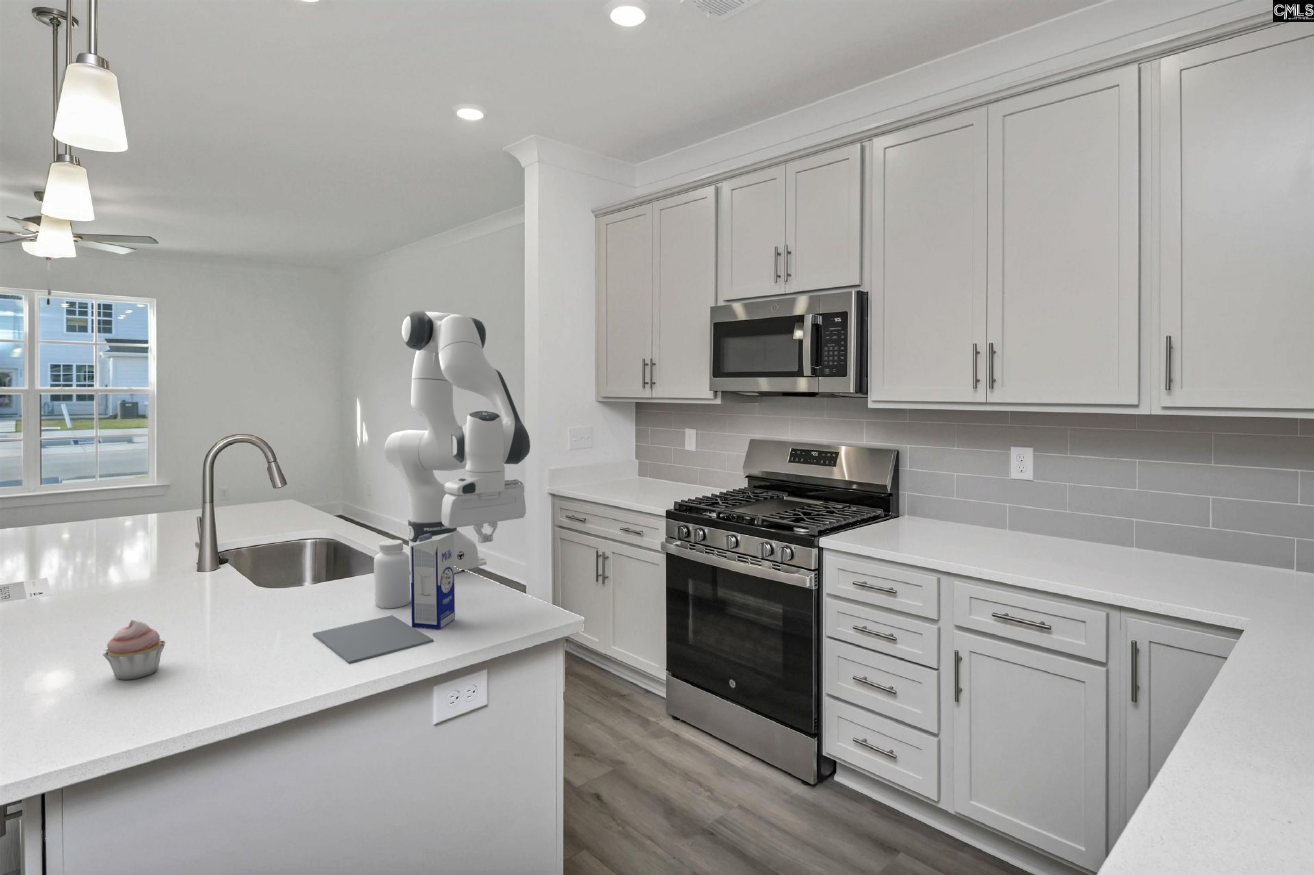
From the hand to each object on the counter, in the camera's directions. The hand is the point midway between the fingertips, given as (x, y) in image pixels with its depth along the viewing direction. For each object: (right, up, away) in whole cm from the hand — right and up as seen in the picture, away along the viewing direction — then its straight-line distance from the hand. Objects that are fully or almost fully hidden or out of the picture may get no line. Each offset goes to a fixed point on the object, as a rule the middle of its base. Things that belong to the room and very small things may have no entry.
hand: (485, 542), depth 165 cm
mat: (-19, -18, -17) cm, 31 cm away
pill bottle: (-23, -16, +6) cm, 29 cm away
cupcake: (-55, -19, -35) cm, 68 cm away
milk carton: (-10, -17, -7) cm, 21 cm away
